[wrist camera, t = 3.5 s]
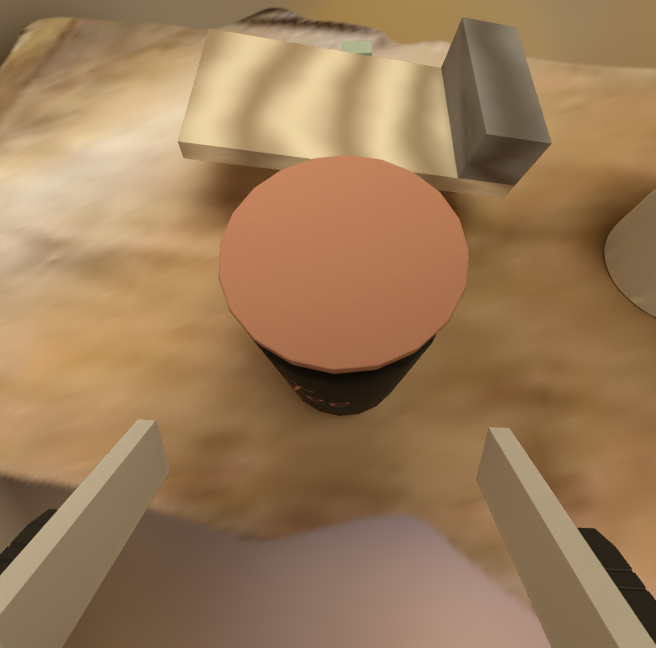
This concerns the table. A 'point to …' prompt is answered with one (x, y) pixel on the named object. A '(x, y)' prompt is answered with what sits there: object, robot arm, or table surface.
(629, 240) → the utensil holder
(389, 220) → the coffee jar
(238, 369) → the table surface
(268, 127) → the seesaw plank
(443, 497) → the table surface
